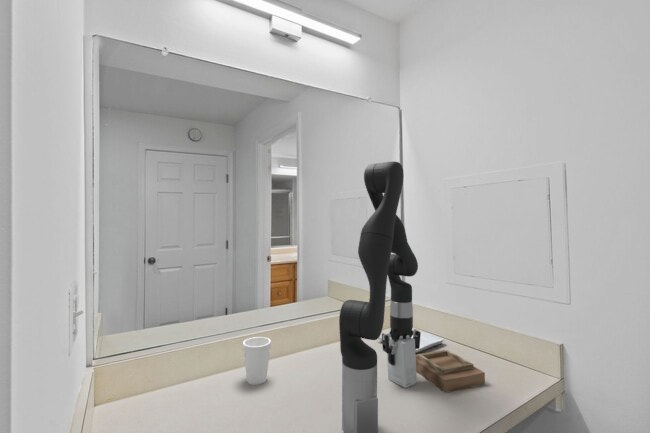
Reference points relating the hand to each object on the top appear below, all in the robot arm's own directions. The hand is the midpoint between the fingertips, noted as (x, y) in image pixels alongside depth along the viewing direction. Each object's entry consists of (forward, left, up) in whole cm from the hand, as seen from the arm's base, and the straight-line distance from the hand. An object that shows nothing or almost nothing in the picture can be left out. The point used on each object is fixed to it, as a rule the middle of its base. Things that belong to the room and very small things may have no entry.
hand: (401, 362), depth 114 cm
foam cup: (+17, +46, -7) cm, 49 cm away
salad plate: (+28, -22, -7) cm, 36 cm away
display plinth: (-1, -17, -6) cm, 18 cm away
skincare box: (0, 0, -7) cm, 7 cm away
